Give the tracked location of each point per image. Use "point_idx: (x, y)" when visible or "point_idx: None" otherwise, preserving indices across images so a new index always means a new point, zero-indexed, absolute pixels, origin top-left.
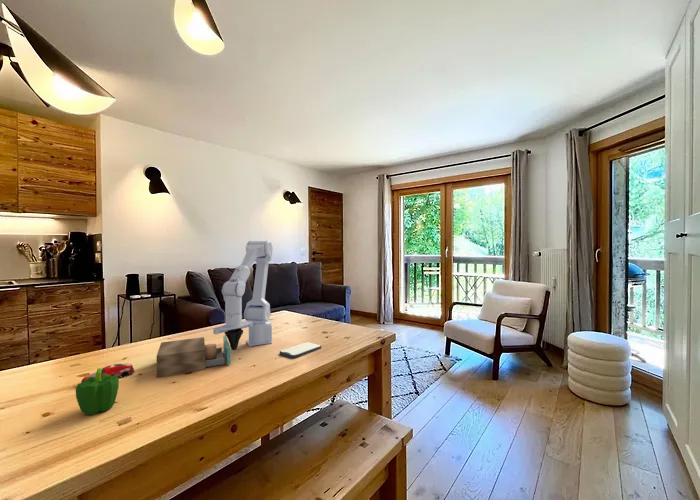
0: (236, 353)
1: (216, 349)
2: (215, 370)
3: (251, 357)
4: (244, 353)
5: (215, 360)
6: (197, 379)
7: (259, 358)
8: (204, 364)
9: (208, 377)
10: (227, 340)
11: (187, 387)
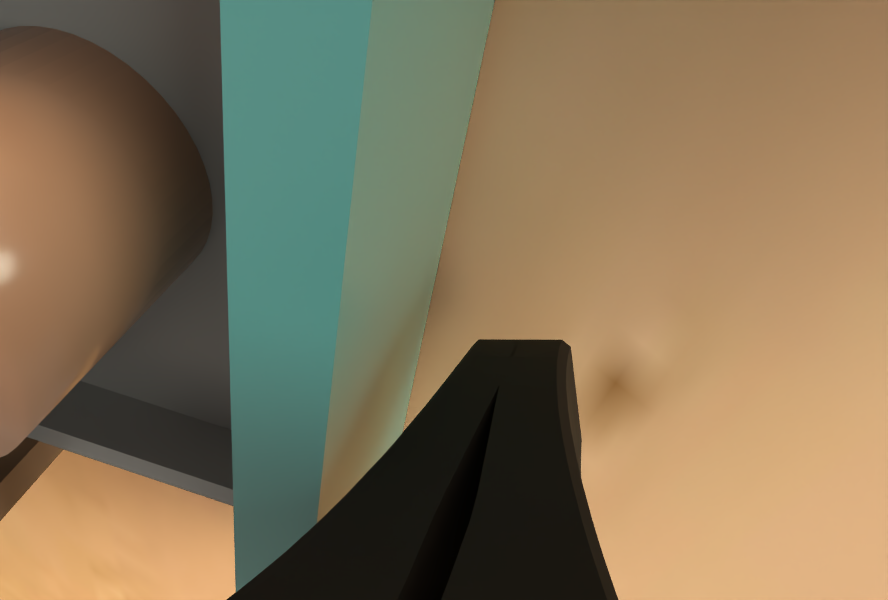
0: (729, 76)
1: (107, 321)
2: None
3: (795, 484)
4: (872, 218)
5: (166, 470)
6: (62, 532)
7: (853, 586)
8: (43, 454)
9: (149, 562)
10: (325, 404)
11: (18, 580)
